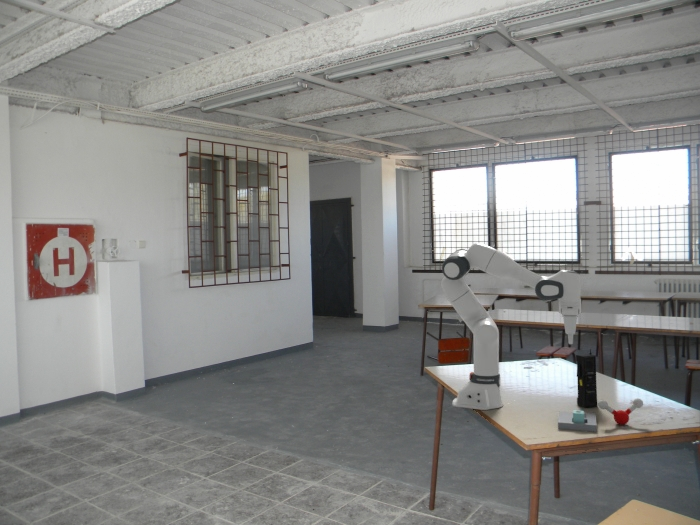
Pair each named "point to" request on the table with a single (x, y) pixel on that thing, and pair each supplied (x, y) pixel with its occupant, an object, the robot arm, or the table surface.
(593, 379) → the portable radio
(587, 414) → the outlet plate
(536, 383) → the table surface
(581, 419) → the block
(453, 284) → the robot arm
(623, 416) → the molecular model
